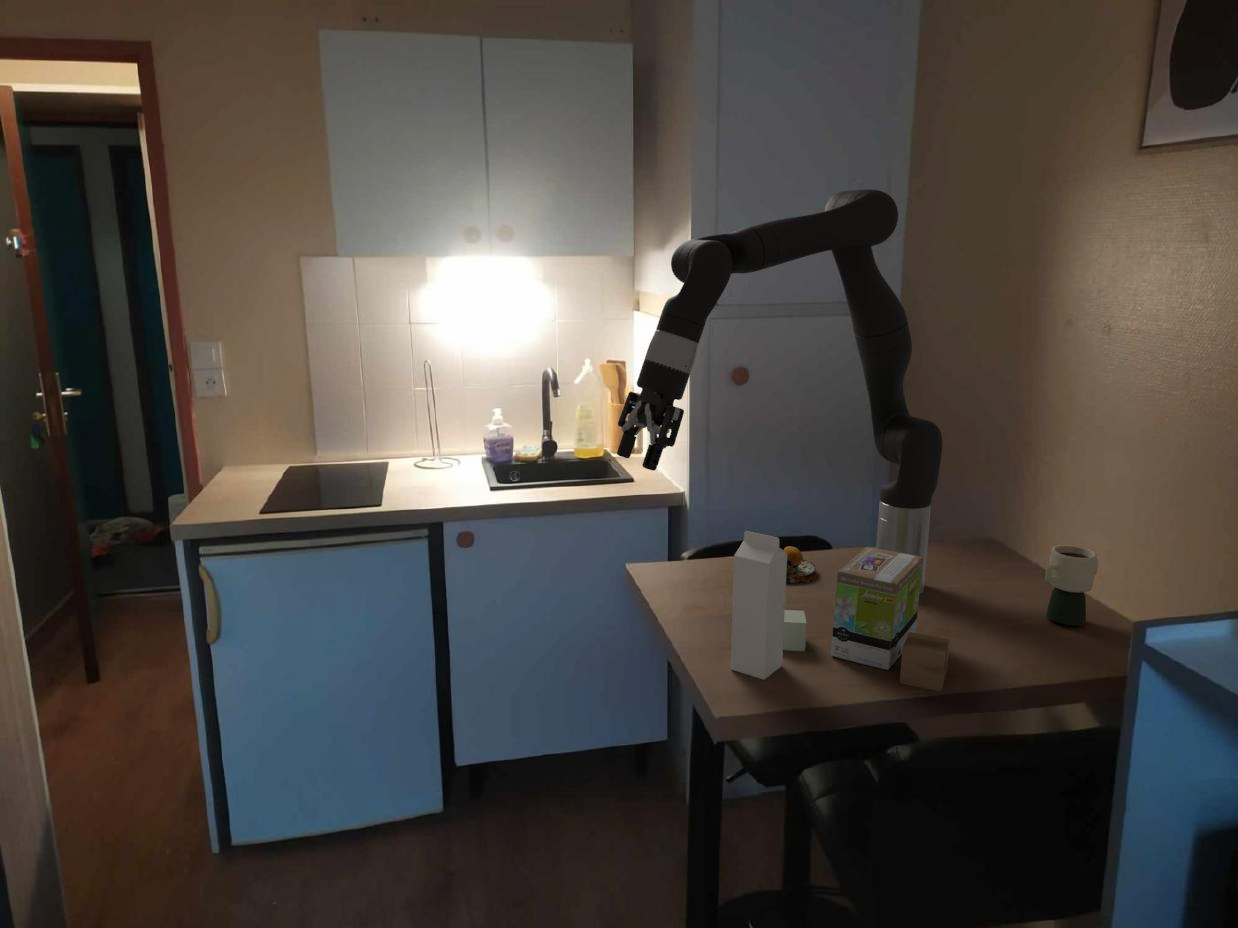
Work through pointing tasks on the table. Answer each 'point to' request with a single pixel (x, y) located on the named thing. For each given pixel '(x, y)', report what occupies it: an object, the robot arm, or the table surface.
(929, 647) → the walnut cube
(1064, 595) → the character mug
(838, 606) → the tea box
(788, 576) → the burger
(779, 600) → the milk
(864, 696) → the table surface
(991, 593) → the table surface
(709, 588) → the table surface
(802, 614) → the sage block
